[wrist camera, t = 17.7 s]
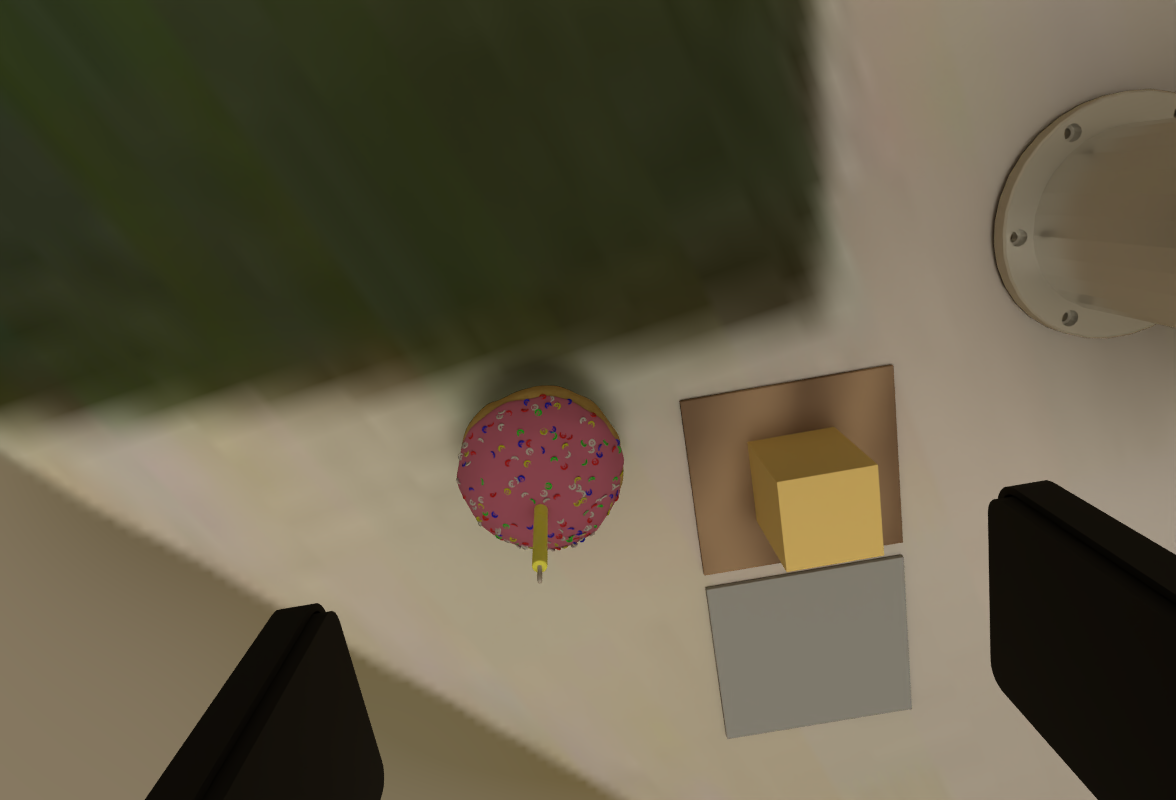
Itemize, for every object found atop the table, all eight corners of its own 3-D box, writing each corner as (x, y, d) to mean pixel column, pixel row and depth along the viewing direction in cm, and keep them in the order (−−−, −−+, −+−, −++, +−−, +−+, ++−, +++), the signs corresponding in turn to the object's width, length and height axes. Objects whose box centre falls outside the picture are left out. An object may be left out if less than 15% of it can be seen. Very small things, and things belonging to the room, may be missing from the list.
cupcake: (623, 503, 43) (645, 618, 31) (478, 516, 43) (446, 637, 31) (611, 360, 40) (630, 428, 29) (458, 375, 40) (415, 448, 29)
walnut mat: (890, 364, 41) (893, 365, 41) (900, 539, 44) (902, 542, 44) (679, 400, 41) (680, 402, 41) (703, 573, 44) (704, 575, 44)
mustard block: (834, 426, 41) (878, 464, 36) (841, 506, 43) (884, 555, 37) (747, 441, 42) (776, 482, 36) (756, 520, 43) (786, 572, 37)
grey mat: (901, 554, 44) (903, 557, 44) (909, 705, 47) (911, 708, 47) (705, 587, 44) (706, 589, 44) (726, 735, 47) (727, 738, 47)
